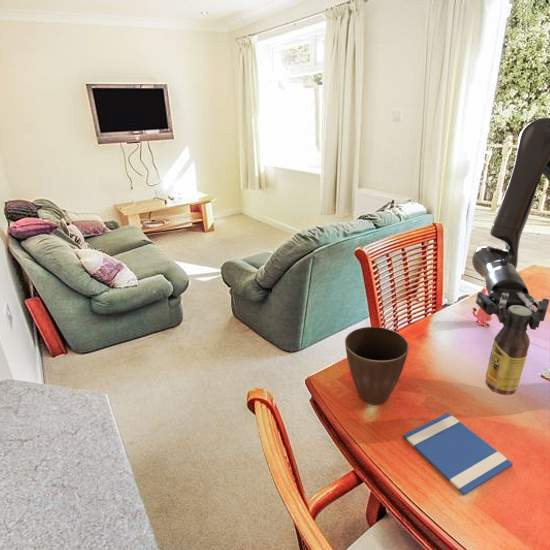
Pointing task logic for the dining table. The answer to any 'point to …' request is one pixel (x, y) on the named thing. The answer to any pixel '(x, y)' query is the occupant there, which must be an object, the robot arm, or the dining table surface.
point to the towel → (457, 452)
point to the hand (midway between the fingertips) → (520, 323)
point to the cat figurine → (482, 314)
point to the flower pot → (375, 361)
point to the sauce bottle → (509, 352)
